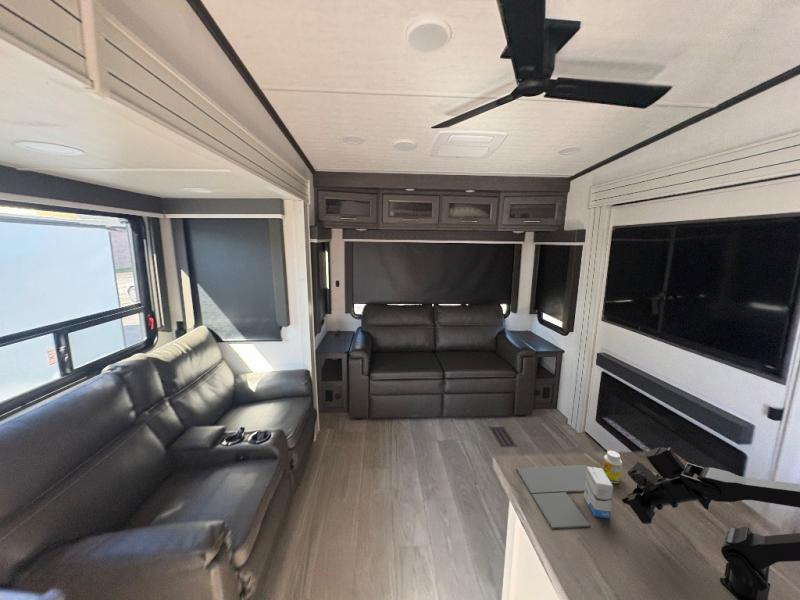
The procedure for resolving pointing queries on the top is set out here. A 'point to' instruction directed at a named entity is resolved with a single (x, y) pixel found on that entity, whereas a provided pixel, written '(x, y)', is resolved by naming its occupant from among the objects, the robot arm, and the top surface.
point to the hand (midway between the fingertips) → (623, 500)
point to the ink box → (598, 492)
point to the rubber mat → (557, 492)
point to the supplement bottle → (612, 466)
